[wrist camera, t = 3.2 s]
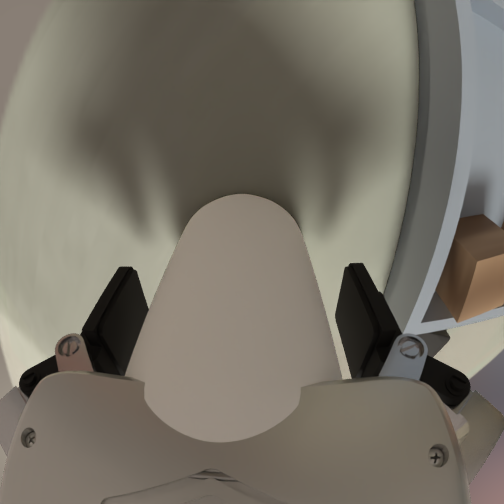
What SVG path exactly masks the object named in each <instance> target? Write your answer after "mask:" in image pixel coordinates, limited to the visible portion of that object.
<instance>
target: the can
mask: <svg viewBox="0 0 504 504" xmlns="http://www.w3.org/2000/svg"><path fill="white" fill-rule="evenodd" d="M125 376H128V377H133V378H135V379H138V380H140V381H142V382H145V387H144V399H145V401H146V403H147V405H148V406H149V407H150V409H151V410H152V411H153V412H154V413H155V414H156V415H157V416H158V417H159V418H160V419H161V420H162V421H163V422H165V423H166V424H167V425H169V426H170V427H172V428H173V429H175V430H176V431H178V432H180V433H182V434H184V435H187V436H189V437H191V438H195V439H198V440H202V441H207V442H233V441H239V440H243V439H247V438H250V437H253V436H256V435H258V434H260V433H263V432H265V431H267V430H269V429H270V428H272V427H274V426H275V425H277V424H278V423H280V422H281V421H283V420H284V419H285V418H286V417H288V416H289V415H290V414H291V413H292V412H293V411H294V410H295V409H296V407H297V406H298V405H299V400H300V395H301V387H304V386H307V385H311V384H315V383H319V382H323V381H334V380H342V375H341V371H340V367H339V363H338V358H337V354H336V350H335V346H334V342H333V338H332V334H331V331H330V327H329V323H328V319H327V316H326V312H325V308H324V305H323V301H322V297H321V294H320V290H319V287H318V284H317V280H316V277H315V273H314V270H313V267H312V264H311V260H310V257H309V254H308V251H307V248H306V245H305V242H304V239H303V236H302V233H301V231H300V229H299V227H298V225H297V223H296V222H295V220H294V219H293V217H292V216H291V215H290V214H289V213H288V212H287V211H286V210H285V209H283V208H282V207H281V206H279V205H278V204H276V203H274V202H272V201H270V200H268V199H265V198H262V197H259V196H255V195H250V194H234V195H229V196H225V197H222V198H219V199H216V200H214V201H212V202H210V203H208V204H206V205H205V206H203V207H202V208H200V209H199V210H198V211H197V212H196V213H195V214H194V215H193V216H192V218H191V219H190V221H189V222H188V224H187V225H186V227H185V229H184V231H183V233H182V235H181V237H180V239H179V241H178V244H177V246H176V248H175V250H174V252H173V254H172V257H171V259H170V261H169V263H168V266H167V268H166V270H165V272H164V275H163V277H162V279H161V282H160V284H159V286H158V289H157V291H156V294H155V296H154V298H153V301H152V303H151V306H150V308H149V311H148V313H147V316H146V318H145V321H144V323H143V326H142V329H141V331H140V334H139V337H138V339H137V342H136V345H135V348H134V350H133V353H132V356H131V359H130V362H129V365H128V368H127V371H126V374H125ZM188 478H192V479H200V480H206V479H208V478H214V479H216V480H218V481H227V482H239V481H237V480H235V479H233V478H232V477H230V476H228V475H226V474H224V473H222V472H209V471H203V472H200V473H197V474H194V475H192V476H189V477H188Z"/></svg>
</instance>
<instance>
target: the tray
mask: <svg viewBox="0 0 504 504" xmlns="http://www.w3.org/2000/svg"><path fill="white" fill-rule="evenodd" d="M415 8H416V17H417V27H418V41H419V71H420V79H419V110H418V125H417V137H416V146H415V155H414V163H413V170H412V177H411V183H410V189H409V195H408V200H407V206H406V211H405V216H404V220H403V225H402V229H401V234H400V238H399V242H398V246H397V250H396V254H395V258H394V262H393V265H392V269H391V272H390V276H389V279H388V283H387V286H386V289H385V292H384V298H385V300H386V302H387V304H388V306H389V308H390V310H391V312H392V314H393V316H394V318H395V320H396V322H397V324H398V326H399V328H400V330H401V332H402V334H405V333H410V334H414V335H418V334H424V333H430V332H435V331H440V330H445V329H450V328H455V327H459V326H464V325H468V324H472V323H477V322H481V321H485V320H489V319H492V318H496V317H500V316H503V315H504V303H503V305H501V306H499V307H497V308H494V309H492V310H490V311H487V312H485V313H482V314H480V315H477V316H475V317H472V318H470V319H467V320H464V321H462V322H459V323H457V322H456V321H455V319H454V317H453V316H452V314H451V313H450V311H449V310H448V308H447V307H446V305H445V304H444V302H443V301H442V299H441V298H440V296H439V295H438V293H437V292H436V291H435V289H436V287H437V284H438V282H439V279H440V276H441V274H442V271H443V268H444V266H445V263H446V260H447V257H448V254H449V251H450V248H451V245H452V242H453V238H454V235H455V232H456V228H457V225H458V221H459V218H462V217H468V216H474V215H480V214H484V215H485V216H486V217H488V218H489V219H490V220H492V221H493V222H494V223H495V224H497V225H498V226H499V227H500V228H501V227H502V224H503V221H504V0H415Z"/></svg>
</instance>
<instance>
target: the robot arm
mask: <svg viewBox="0 0 504 504" xmlns="http://www.w3.org/2000/svg"><path fill="white" fill-rule="evenodd" d="M148 311H149V309H148V306H147V303H146V300H145V297H144V293H143V290H142V287H141V284H140V280H139V277H138V274H137V271H136V270H134V269H133V268H132V267H119V268H118V270H117V271H116V273H115V274H114V276H113V277H112V279H111V281H110V282H109V284H108V285H107V287H106V289H105V290H104V292H103V294H102V295H101V297H100V299H99V300H98V302H97V304H96V305H95V307H94V309H93V310H92V312H91V314H90V316H89V317H88V319H87V321H86V323H85V325H84V326H83V328H82V333H81V334H80V335H79V334H76V333H73V334H68V335H66V336H64V337H62V338H61V339H60V340H59V341H58V343H57V344H56V347H55V355H54V356H52V357H50V358H48V359H47V360H45V361H43V362H41V363H39V364H37V365H35V366H33V367H32V368H30V369H28V370H27V371H25V372H24V373H23V374H22V376H21V378H20V381H19V387H18V388H17V387H16V386H15V387H14V388H13V389H12V390H11V391H10V392H9V393H7V394H6V395H5V396H4V397H3V398H2V399H1V400H0V444H1V446H2V448H3V450H4V452H5V454H6V455H7V460H6V464H5V468H4V473H3V478H2V483H1V488H0V504H471V497H470V491H469V484H470V483H471V482H472V480H473V479H474V478H475V476H476V475H477V473H478V472H479V470H480V469H481V467H482V466H483V464H484V463H485V461H486V460H487V458H488V456H489V455H490V453H491V451H492V450H493V448H494V446H495V445H496V443H497V441H498V439H499V438H500V436H501V434H502V432H503V430H504V416H503V415H502V414H501V412H500V411H498V410H497V409H496V408H495V407H494V406H493V405H492V404H491V403H489V402H488V401H487V400H486V399H485V398H484V397H483V396H482V395H480V394H479V393H478V392H477V391H476V390H475V391H474V392H472V391H471V390H470V382H469V380H468V378H467V377H466V376H465V375H464V374H463V373H462V372H460V371H458V370H456V369H454V368H452V367H450V366H448V365H446V364H444V363H442V362H440V361H438V360H436V359H434V358H432V357H430V356H429V355H427V353H428V348H427V345H426V343H425V342H424V340H422V339H421V338H420V337H418V336H417V335H414V334H410V333H405V334H402V332H401V330H400V328H399V326H398V324H397V322H396V320H395V318H394V316H393V314H392V312H391V310H390V308H389V306H388V304H387V302H386V300H385V298H384V296H383V294H382V293H381V292H378V290H377V288H376V286H375V285H374V283H373V281H372V279H371V277H370V275H369V273H368V271H367V270H366V268H365V266H364V264H363V263H350V264H349V266H348V267H345V269H344V274H343V279H342V284H341V289H340V294H339V299H338V303H337V308H336V313H335V319H336V323H337V326H338V330H339V333H340V337H341V340H342V344H343V347H344V351H345V355H346V358H347V362H348V366H349V369H350V373H351V377H352V379H345V380H334V381H323V382H319V383H315V384H311V385H307V386H304V387H301V395H300V400H299V405H298V406H297V407H296V409H295V410H294V411H293V412H292V413H291V414H290V415H289V416H288V417H286V418H285V419H284V420H283V421H281V422H280V423H278V424H277V425H275V426H274V427H272V428H270V429H269V430H267V431H265V432H263V433H260V434H258V435H256V436H253V437H250V438H247V439H243V440H239V441H233V442H207V441H202V440H198V439H195V438H191V437H189V436H187V435H184V434H182V433H180V432H178V431H176V430H175V429H173V428H172V427H170V426H169V425H167V424H166V423H165V422H163V421H162V420H161V419H160V418H159V417H158V416H157V415H156V414H155V413H154V412H153V411H152V410H151V409H150V407H149V406H148V405H147V403H146V401H145V399H144V387H145V382H142V381H140V380H138V379H135V378H133V377H128V376H125V374H126V371H127V368H128V365H129V362H130V359H131V356H132V353H133V350H134V348H135V345H136V342H137V339H138V337H139V334H140V331H141V329H142V326H143V323H144V321H145V318H146V316H147V313H148ZM203 471H209V472H222V473H224V474H226V475H228V476H230V477H232V478H233V479H235V480H237V481H239V482H227V481H218V480H216V479H214V478H208V479H206V480H200V479H192V478H188V477H189V476H192V475H194V474H197V473H200V472H203Z"/></svg>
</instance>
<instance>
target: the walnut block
mask: <svg viewBox="0 0 504 504" xmlns="http://www.w3.org/2000/svg"><path fill="white" fill-rule="evenodd" d="M435 291H436V292H437V293H438V295H439V296H440V298H441V299H442V301H443V302H444V304H445V305H446V307H447V308H448V310H449V311H450V313H451V314H452V316H453V317H454V319H455V321H456V322H457V323H459V322H462V321H464V320H467V319H470V318H472V317H475V316H477V315H480V314H482V313H485V312H487V311H490V310H492V309H494V308H497V307H499V306H501V305H503V303H504V230H503V229H501V228H500V227H499V226H498V225H497V224H495V223H494V222H493V221H492V220H490V219H489V218H488V217H486V216H485V215H484V214H480V215H474V216H468V217H462V218H459V221H458V225H457V228H456V232H455V235H454V238H453V242H452V245H451V248H450V251H449V254H448V257H447V260H446V263H445V266H444V268H443V271H442V274H441V276H440V279H439V282H438V284H437V287H436V289H435Z"/></svg>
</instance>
